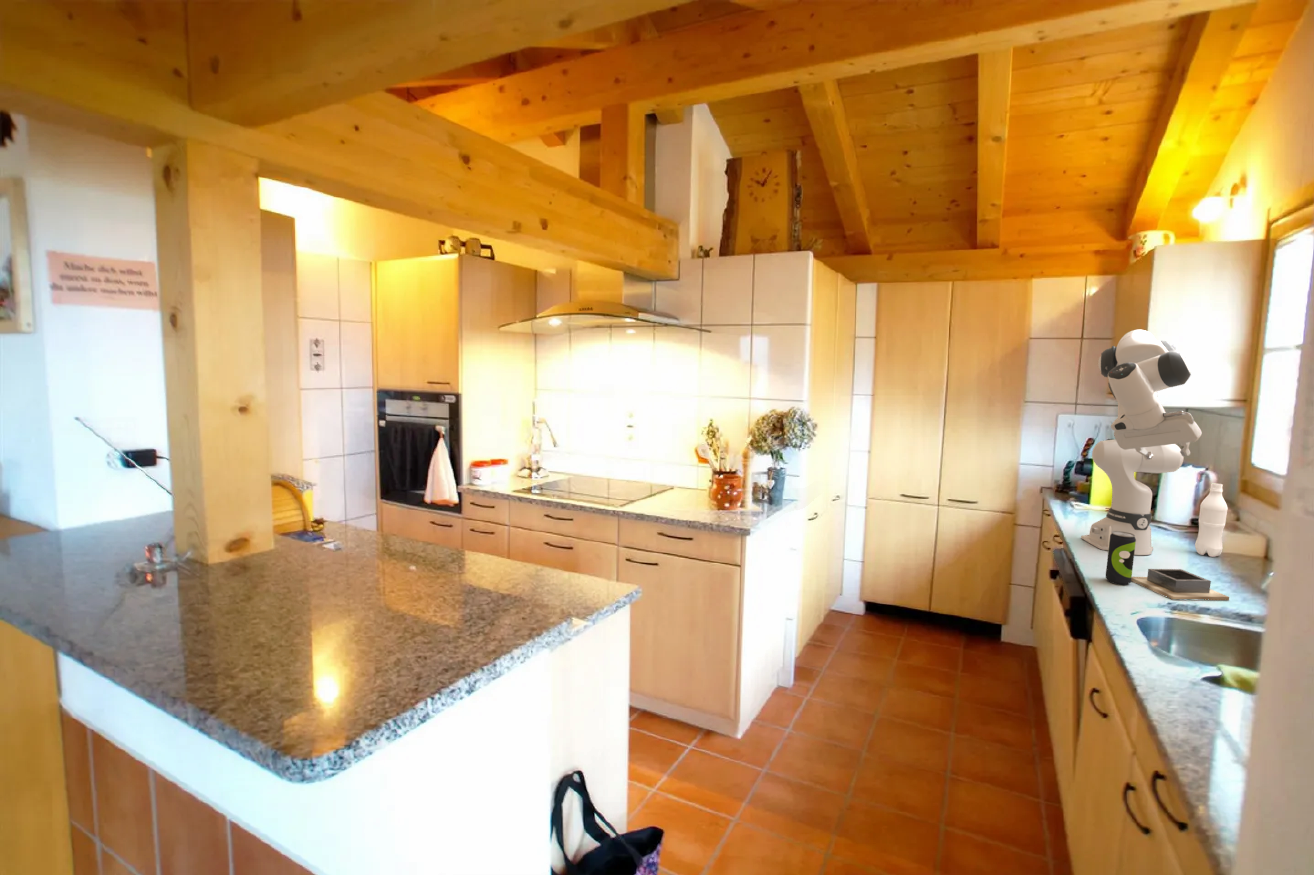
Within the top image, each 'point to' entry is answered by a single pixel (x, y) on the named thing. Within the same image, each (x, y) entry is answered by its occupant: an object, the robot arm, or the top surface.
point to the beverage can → (1120, 557)
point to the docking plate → (1163, 591)
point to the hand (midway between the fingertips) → (1167, 456)
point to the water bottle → (1212, 522)
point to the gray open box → (1178, 581)
